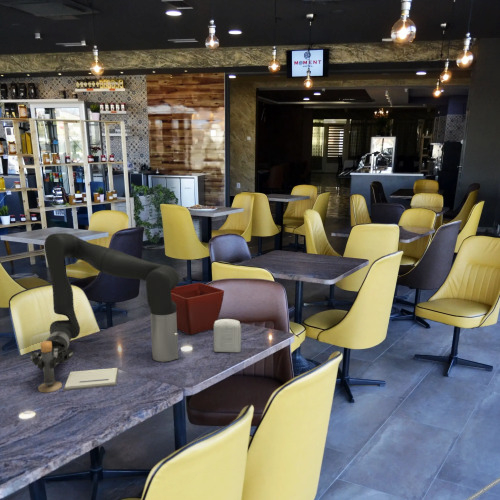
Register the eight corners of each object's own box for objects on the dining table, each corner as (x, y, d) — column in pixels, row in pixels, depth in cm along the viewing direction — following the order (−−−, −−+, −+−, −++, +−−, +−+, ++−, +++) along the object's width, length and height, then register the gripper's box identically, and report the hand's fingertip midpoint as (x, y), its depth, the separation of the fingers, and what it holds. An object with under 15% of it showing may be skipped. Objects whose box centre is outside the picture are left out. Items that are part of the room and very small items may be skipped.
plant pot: (200, 318, 223) (199, 281, 220) (226, 328, 209) (225, 290, 205) (163, 327, 211) (161, 289, 208) (187, 339, 197) (186, 298, 193)
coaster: (63, 381, 160) (63, 380, 160) (59, 391, 153) (59, 389, 153) (40, 383, 159) (40, 382, 159) (36, 393, 152) (35, 392, 152)
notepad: (118, 370, 169) (118, 367, 168) (116, 385, 157) (116, 382, 157) (69, 374, 166) (69, 371, 165) (63, 390, 154) (63, 387, 154)
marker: (56, 380, 158) (52, 340, 155) (54, 385, 155) (50, 344, 152) (45, 381, 157) (41, 341, 155) (43, 386, 154) (39, 345, 152)
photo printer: (241, 348, 186) (241, 317, 184) (240, 353, 182) (240, 321, 180) (214, 348, 187) (213, 317, 185) (213, 352, 183) (212, 321, 181)
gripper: (33, 336, 166) (20, 356, 150) (77, 333, 169) (68, 352, 152) (35, 357, 168) (22, 379, 151) (78, 354, 170) (70, 375, 154)
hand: (46, 366), depth 152 cm, fingers closed on marker, 2 cm apart
